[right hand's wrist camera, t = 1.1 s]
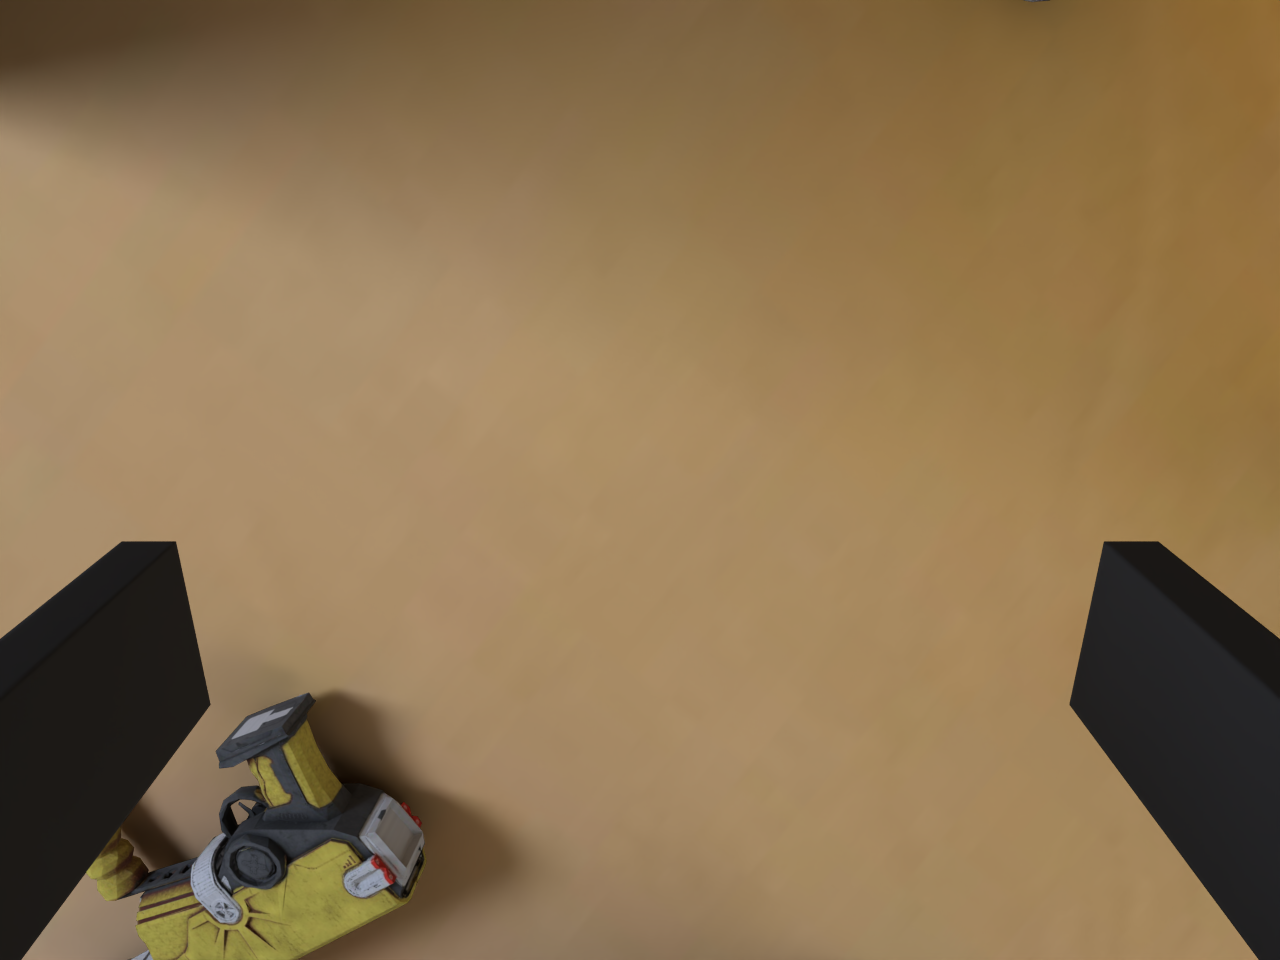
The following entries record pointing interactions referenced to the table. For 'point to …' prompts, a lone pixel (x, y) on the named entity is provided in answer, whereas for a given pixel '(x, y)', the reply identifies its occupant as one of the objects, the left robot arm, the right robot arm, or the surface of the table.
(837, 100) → the table surface
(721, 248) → the table surface
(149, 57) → the table surface
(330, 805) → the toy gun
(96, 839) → the right robot arm
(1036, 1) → the salt shaker
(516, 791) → the table surface
